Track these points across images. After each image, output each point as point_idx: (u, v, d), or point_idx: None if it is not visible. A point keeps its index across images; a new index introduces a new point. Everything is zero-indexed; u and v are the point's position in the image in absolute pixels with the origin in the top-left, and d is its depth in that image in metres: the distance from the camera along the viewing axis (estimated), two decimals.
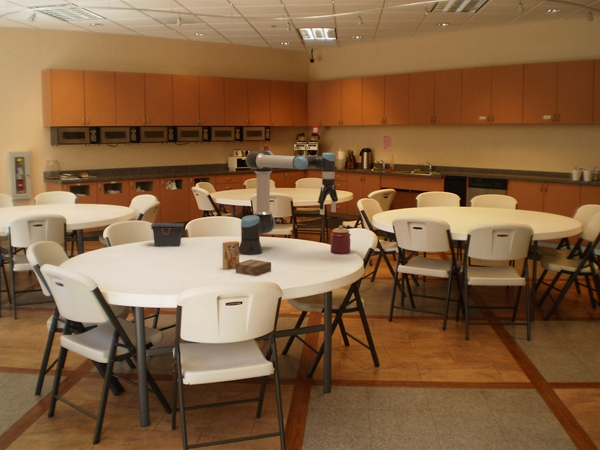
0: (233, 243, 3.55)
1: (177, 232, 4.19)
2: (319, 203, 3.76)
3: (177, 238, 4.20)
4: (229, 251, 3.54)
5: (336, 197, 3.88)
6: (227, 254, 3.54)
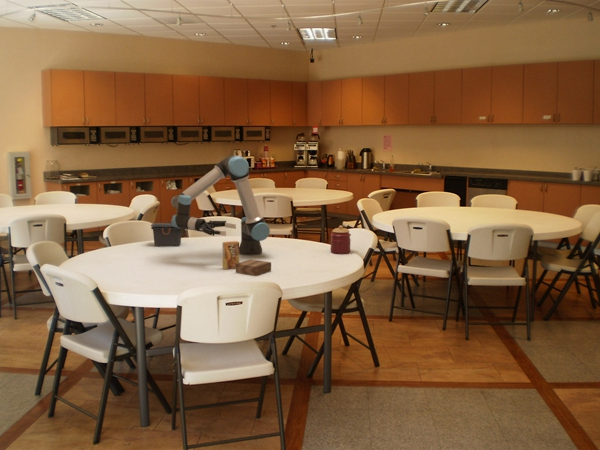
0: (233, 243, 3.55)
1: (177, 232, 4.19)
2: (213, 234, 3.54)
3: (177, 238, 4.20)
4: (229, 251, 3.54)
5: (222, 221, 3.68)
6: (227, 254, 3.54)
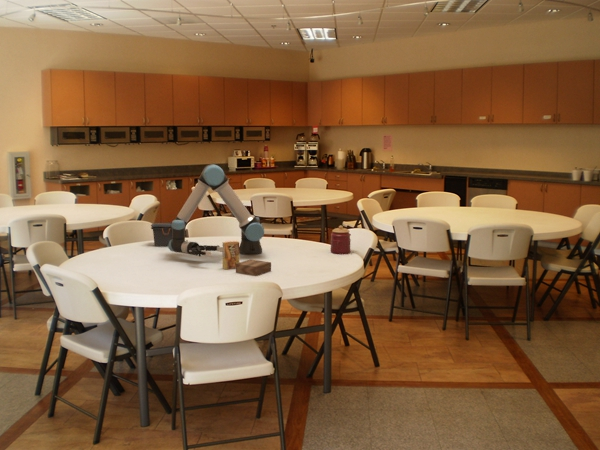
0: (233, 243, 3.55)
1: None
2: (200, 255, 3.59)
3: None
4: (229, 251, 3.54)
5: (215, 246, 3.73)
6: (227, 254, 3.54)
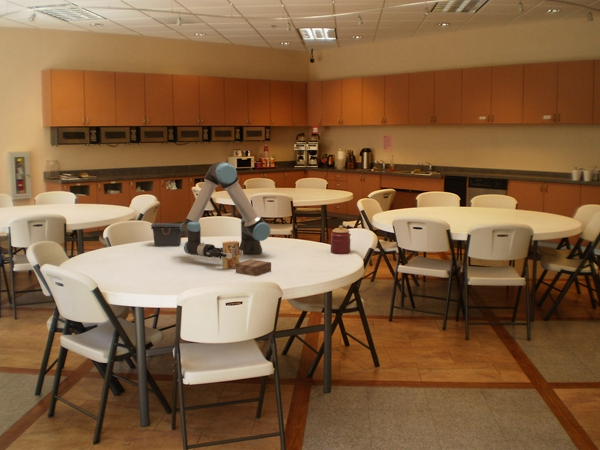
0: (233, 243, 3.55)
1: (177, 232, 4.19)
2: (221, 257, 3.53)
3: (177, 238, 4.20)
4: (229, 251, 3.54)
5: None
6: None
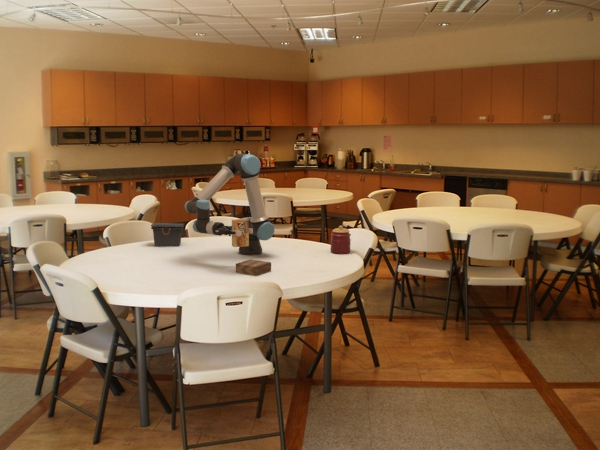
0: (242, 220, 3.48)
1: (177, 232, 4.19)
2: (230, 234, 3.47)
3: (177, 238, 4.20)
4: (238, 228, 3.48)
5: None
6: None
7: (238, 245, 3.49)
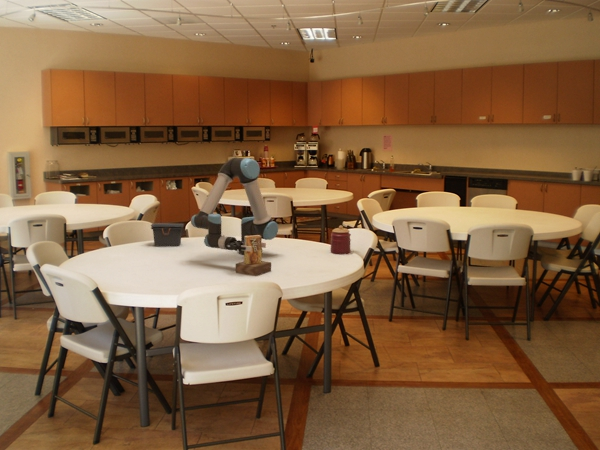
0: (255, 237, 3.45)
1: (177, 232, 4.19)
2: (239, 250, 3.43)
3: (177, 238, 4.20)
4: (251, 245, 3.44)
5: None
6: None
7: (251, 262, 3.46)
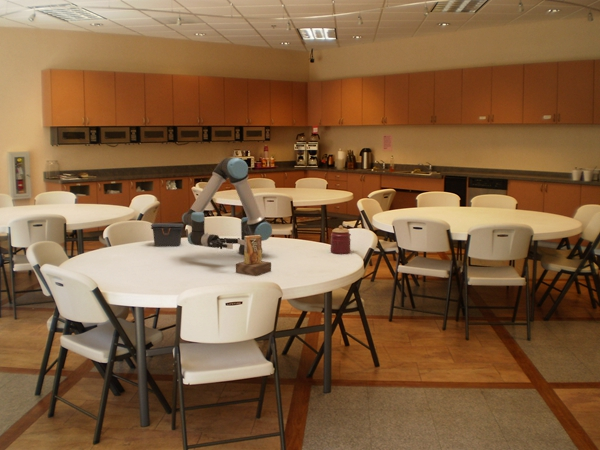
0: (255, 237, 3.45)
1: (177, 232, 4.19)
2: (221, 247, 3.50)
3: (177, 238, 4.20)
4: (251, 245, 3.44)
5: None
6: (249, 248, 3.44)
7: (251, 262, 3.46)
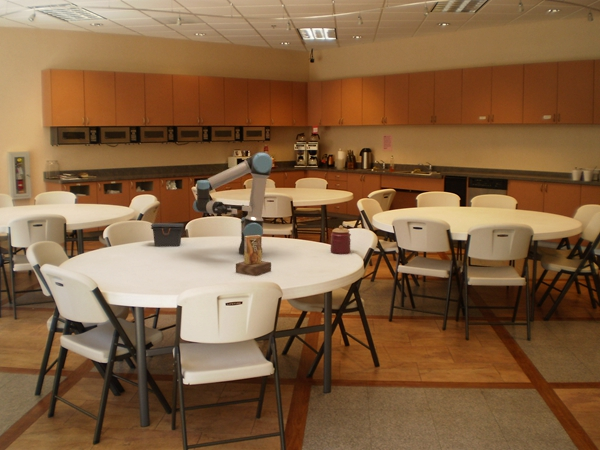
0: (255, 237, 3.45)
1: (177, 232, 4.19)
2: (226, 213, 3.60)
3: (177, 238, 4.20)
4: (251, 245, 3.44)
5: None
6: (249, 248, 3.44)
7: (251, 262, 3.46)
